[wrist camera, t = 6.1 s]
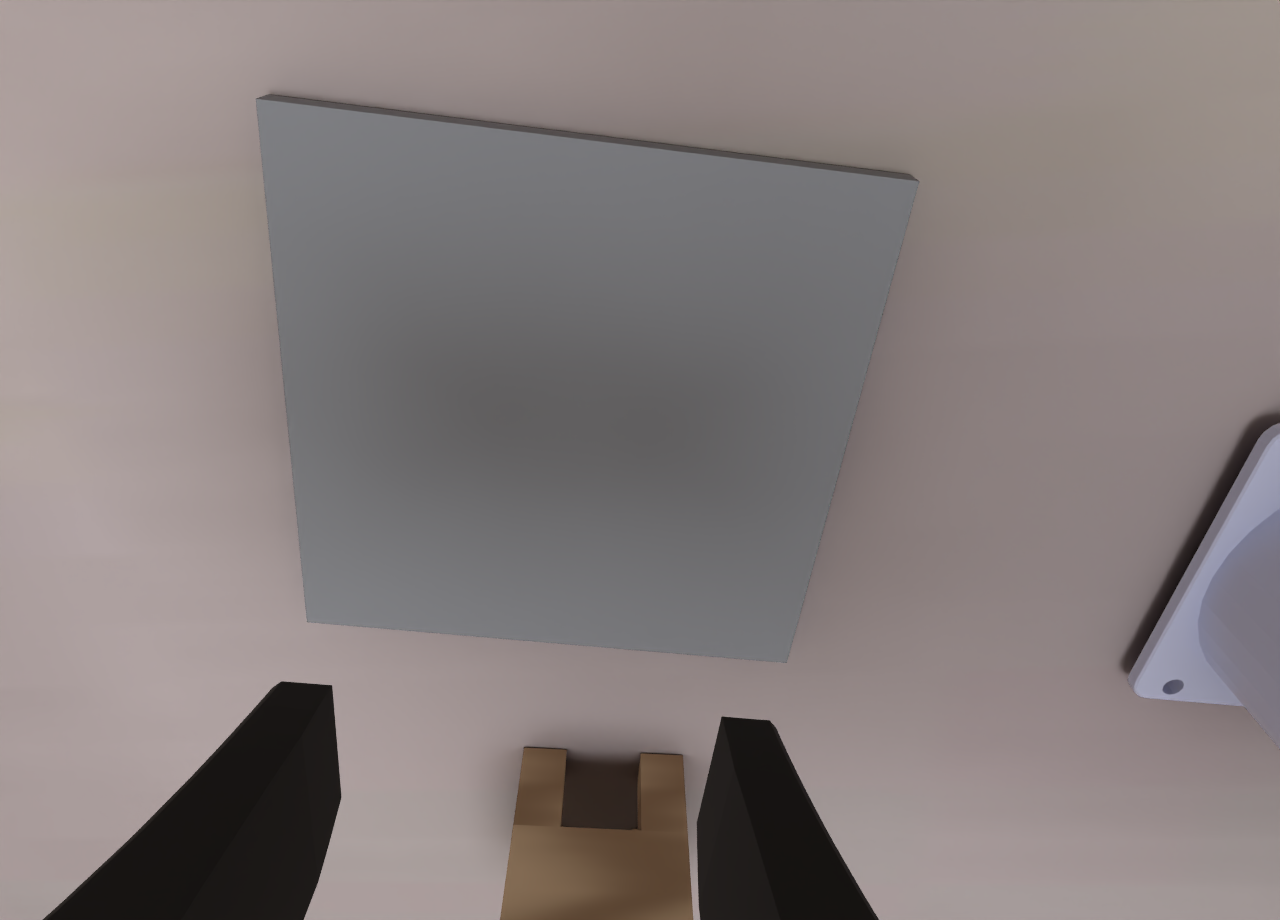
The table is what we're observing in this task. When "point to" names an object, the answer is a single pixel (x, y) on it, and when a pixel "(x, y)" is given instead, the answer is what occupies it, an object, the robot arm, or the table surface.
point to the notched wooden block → (598, 849)
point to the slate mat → (566, 374)
